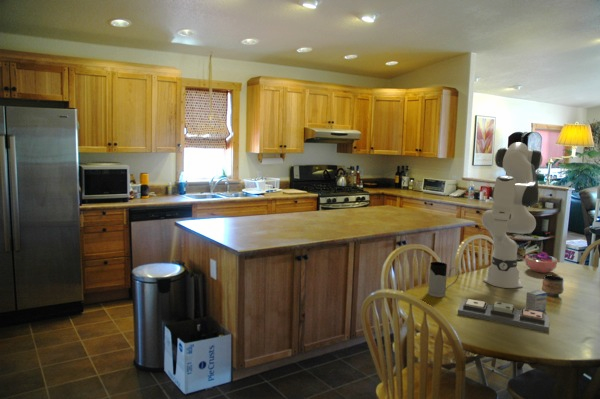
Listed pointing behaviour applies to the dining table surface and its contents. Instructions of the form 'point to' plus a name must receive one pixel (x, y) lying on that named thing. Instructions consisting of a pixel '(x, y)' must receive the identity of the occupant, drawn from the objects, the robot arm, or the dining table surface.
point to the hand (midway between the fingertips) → (500, 244)
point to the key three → (532, 314)
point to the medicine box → (536, 301)
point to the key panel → (505, 316)
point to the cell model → (541, 262)
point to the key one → (475, 303)
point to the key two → (503, 307)
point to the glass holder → (438, 279)
